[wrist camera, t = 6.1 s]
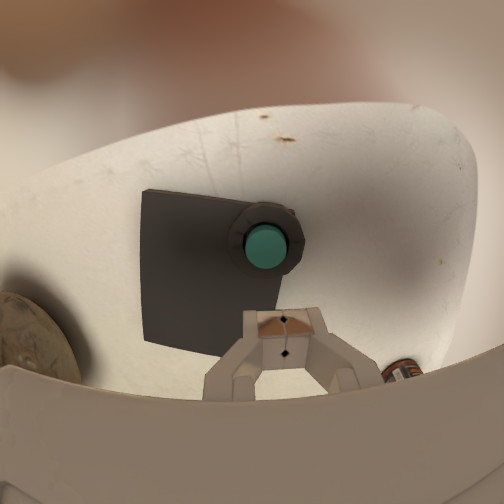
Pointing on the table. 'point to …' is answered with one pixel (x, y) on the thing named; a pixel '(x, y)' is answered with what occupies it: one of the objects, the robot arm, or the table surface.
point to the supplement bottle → (401, 371)
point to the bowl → (34, 340)
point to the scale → (206, 268)
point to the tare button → (265, 246)
